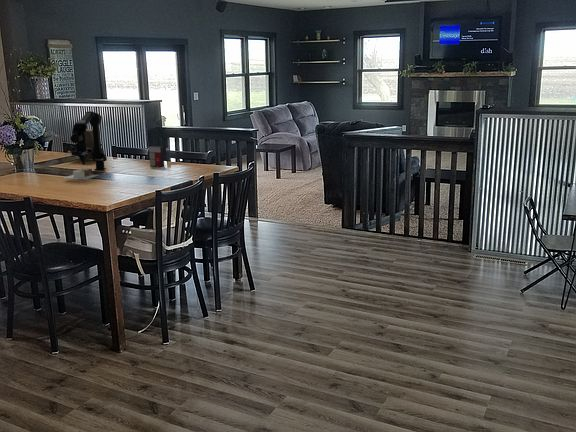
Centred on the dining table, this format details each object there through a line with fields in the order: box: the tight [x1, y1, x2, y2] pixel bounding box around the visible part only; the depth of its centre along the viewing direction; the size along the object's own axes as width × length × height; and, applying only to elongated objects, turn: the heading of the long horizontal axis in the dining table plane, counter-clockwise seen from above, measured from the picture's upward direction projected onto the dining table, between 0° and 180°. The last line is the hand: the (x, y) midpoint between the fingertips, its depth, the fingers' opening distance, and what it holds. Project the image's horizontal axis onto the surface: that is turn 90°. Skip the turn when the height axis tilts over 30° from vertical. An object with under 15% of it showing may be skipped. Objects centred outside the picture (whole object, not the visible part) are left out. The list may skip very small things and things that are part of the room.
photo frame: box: [86, 128, 94, 161], centre depth 467 cm, size 15×22×25 cm
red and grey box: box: [148, 145, 165, 168], centre depth 434 cm, size 11×4×15 cm, turn 65°
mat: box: [61, 174, 100, 181], centre depth 392 cm, size 17×18×1 cm
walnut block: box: [72, 168, 93, 177], centre depth 394 cm, size 4×7×12 cm
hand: (83, 164), depth 395 cm, fingers closed
